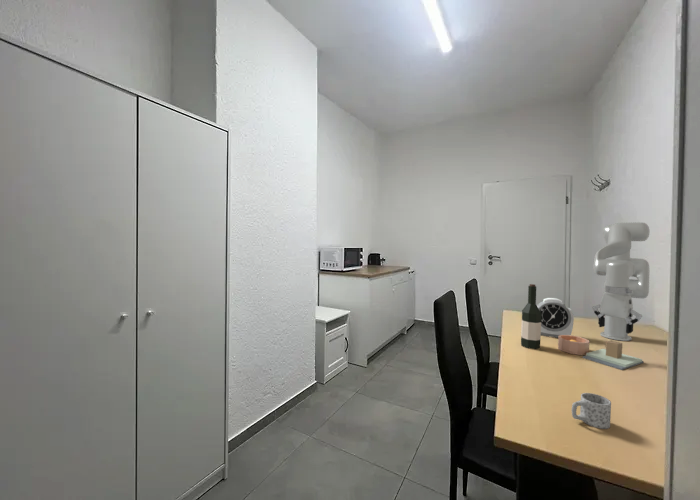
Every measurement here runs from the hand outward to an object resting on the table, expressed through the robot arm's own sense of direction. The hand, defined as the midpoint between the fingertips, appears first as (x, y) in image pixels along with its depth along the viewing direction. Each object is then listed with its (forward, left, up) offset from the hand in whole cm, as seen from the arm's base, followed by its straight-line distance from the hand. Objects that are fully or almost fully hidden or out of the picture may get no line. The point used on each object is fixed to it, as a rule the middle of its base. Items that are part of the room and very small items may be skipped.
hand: (614, 329), depth 134 cm
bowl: (+5, -14, -13) cm, 19 cm away
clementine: (+5, -14, -10) cm, 18 cm away
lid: (+1, 0, -12) cm, 12 cm away
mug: (+63, +21, -13) cm, 68 cm away
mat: (+2, 0, -13) cm, 13 cm away
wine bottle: (+18, -26, -13) cm, 34 cm away
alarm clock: (-9, -32, -13) cm, 36 cm away
